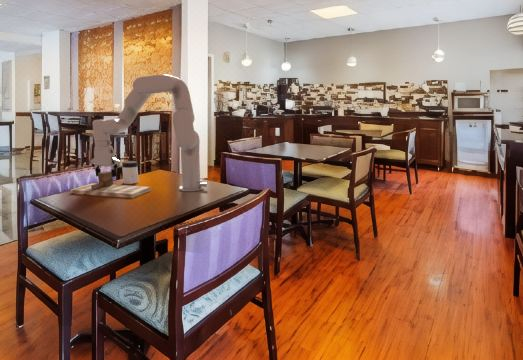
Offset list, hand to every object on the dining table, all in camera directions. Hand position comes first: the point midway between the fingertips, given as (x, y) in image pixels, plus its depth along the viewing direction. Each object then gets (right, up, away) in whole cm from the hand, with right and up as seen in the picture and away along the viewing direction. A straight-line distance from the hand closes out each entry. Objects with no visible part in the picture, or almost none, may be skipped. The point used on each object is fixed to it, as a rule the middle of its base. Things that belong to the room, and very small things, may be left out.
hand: (106, 176), depth 200 cm
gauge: (-1, -6, -2) cm, 6 cm away
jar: (+6, -4, +19) cm, 20 cm away
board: (+4, -8, -4) cm, 10 cm away
